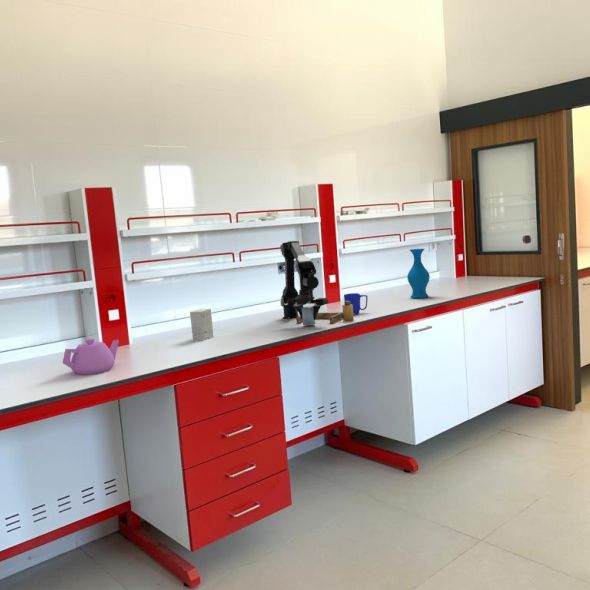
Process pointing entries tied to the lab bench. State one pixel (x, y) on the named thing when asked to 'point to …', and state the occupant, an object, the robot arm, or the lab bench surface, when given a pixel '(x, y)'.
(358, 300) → the mug
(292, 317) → the robot arm
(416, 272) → the vase
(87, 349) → the teapot
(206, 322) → the small box
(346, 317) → the reagent bottle
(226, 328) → the lab bench surface
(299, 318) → the cradle
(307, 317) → the pale blue canister
